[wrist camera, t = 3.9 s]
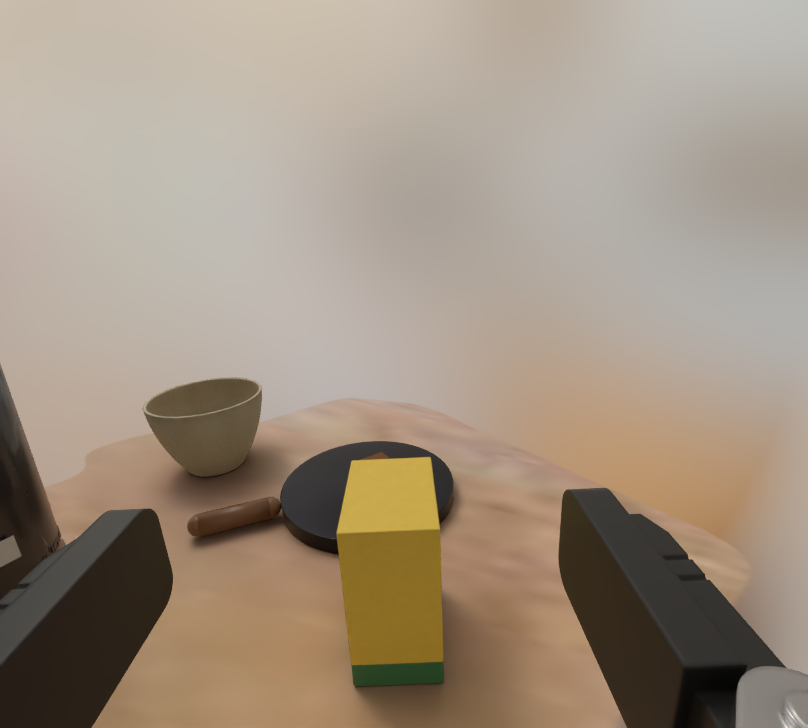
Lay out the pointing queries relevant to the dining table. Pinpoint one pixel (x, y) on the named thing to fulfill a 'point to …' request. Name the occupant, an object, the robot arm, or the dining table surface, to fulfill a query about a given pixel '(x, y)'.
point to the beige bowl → (207, 423)
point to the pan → (320, 495)
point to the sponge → (392, 572)
